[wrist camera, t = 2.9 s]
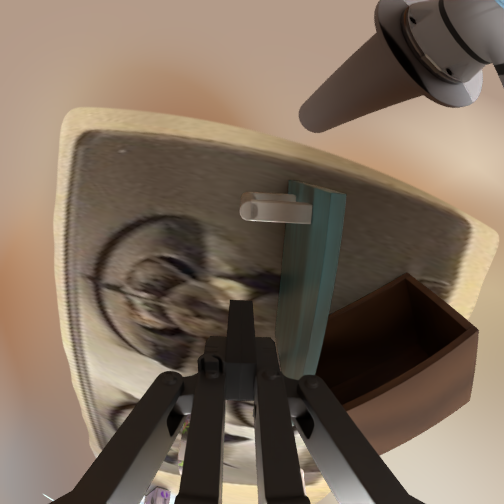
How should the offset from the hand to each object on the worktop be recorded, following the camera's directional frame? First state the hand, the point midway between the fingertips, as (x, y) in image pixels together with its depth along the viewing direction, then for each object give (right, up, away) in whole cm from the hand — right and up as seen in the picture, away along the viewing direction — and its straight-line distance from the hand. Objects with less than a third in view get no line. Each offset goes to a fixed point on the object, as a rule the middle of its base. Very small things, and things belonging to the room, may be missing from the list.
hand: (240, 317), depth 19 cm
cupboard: (+17, -9, +19) cm, 27 cm away
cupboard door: (+2, +3, +14) cm, 15 cm away
